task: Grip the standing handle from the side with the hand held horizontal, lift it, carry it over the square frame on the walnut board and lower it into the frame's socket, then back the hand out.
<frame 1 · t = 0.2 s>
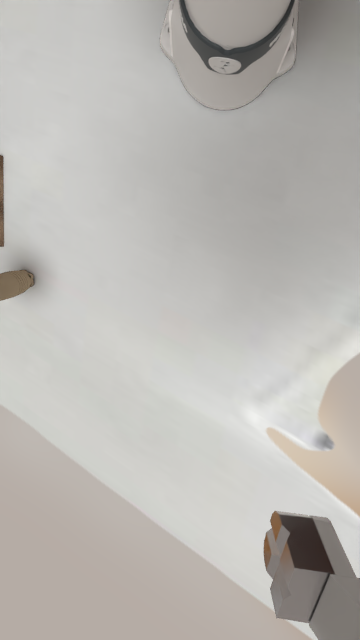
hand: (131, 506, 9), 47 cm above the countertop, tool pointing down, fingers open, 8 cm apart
handle: (26, 278, 57), on the countertop
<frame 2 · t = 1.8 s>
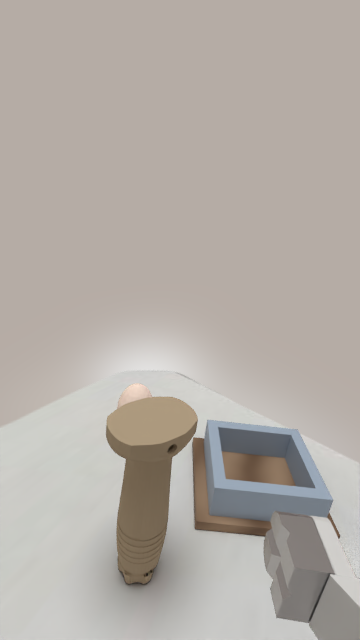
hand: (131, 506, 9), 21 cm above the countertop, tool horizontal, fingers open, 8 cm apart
board: (254, 486, 37), on the countertop
handle: (137, 568, 28), on the countertop
square frame: (258, 467, 36), on the board, point 3 cm above the countertop
egg: (134, 428, 44), on the countertop
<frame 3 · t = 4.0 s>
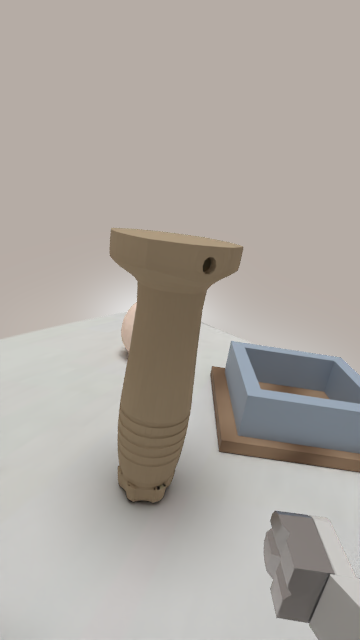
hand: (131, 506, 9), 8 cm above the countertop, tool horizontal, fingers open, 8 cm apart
board: (289, 416, 30), on the countertop
handle: (144, 487, 20), on the countertop
square frame: (297, 390, 29), on the board, point 3 cm above the countertop
egg: (140, 357, 37), on the countertop
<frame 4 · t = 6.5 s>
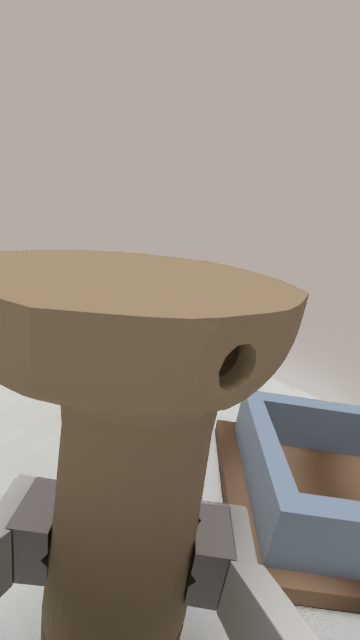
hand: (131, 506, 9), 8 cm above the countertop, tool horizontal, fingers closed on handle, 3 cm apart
board: (330, 505, 21), on the countertop
square frame: (343, 471, 20), on the board, point 3 cm above the countertop
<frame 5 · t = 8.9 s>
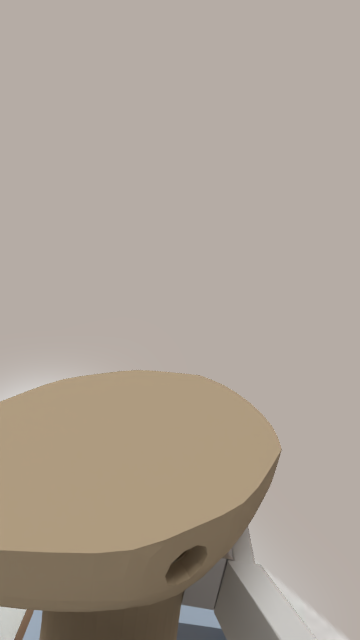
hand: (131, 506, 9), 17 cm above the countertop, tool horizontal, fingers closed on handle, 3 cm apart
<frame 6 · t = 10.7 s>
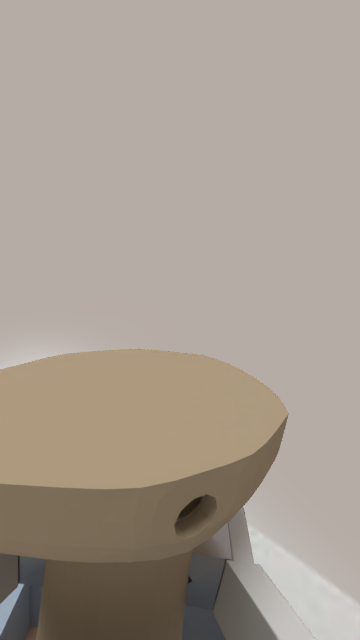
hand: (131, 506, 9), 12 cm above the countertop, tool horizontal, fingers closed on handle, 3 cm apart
when the fingers open (12 cm above the countertop, at t = 10.9 s): handle stays where it is, resting on board.
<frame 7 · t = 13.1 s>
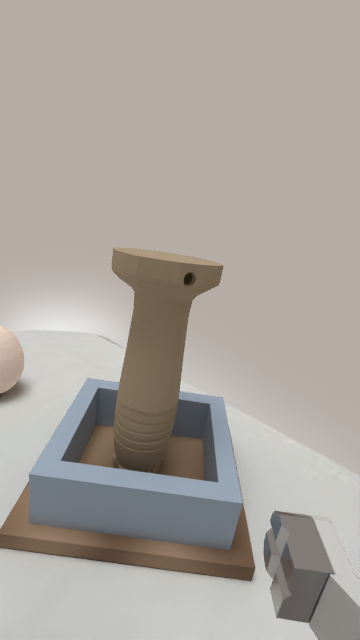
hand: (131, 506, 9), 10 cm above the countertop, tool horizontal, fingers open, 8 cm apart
board: (141, 478, 24), on the countertop
handle: (136, 474, 23), point 1 cm above the countertop, touching board
square frame: (145, 448, 23), on the board, point 3 cm above the countertop
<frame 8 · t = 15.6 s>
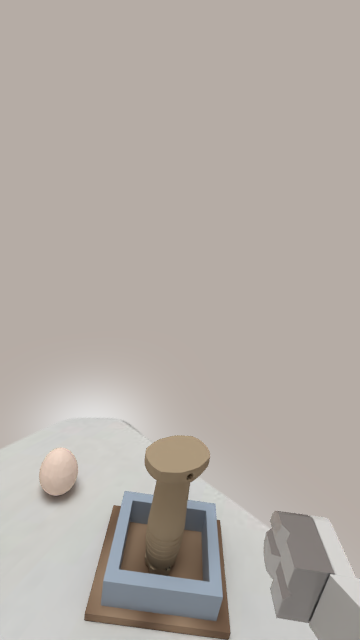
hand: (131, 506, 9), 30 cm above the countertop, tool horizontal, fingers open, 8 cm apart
board: (161, 565, 37), on the countertop
handle: (159, 565, 36), point 1 cm above the countertop, touching board
square frame: (165, 548, 36), on the board, point 3 cm above the countertop
egg: (58, 491, 44), on the countertop
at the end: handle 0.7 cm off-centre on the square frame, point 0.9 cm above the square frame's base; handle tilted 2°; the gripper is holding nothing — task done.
